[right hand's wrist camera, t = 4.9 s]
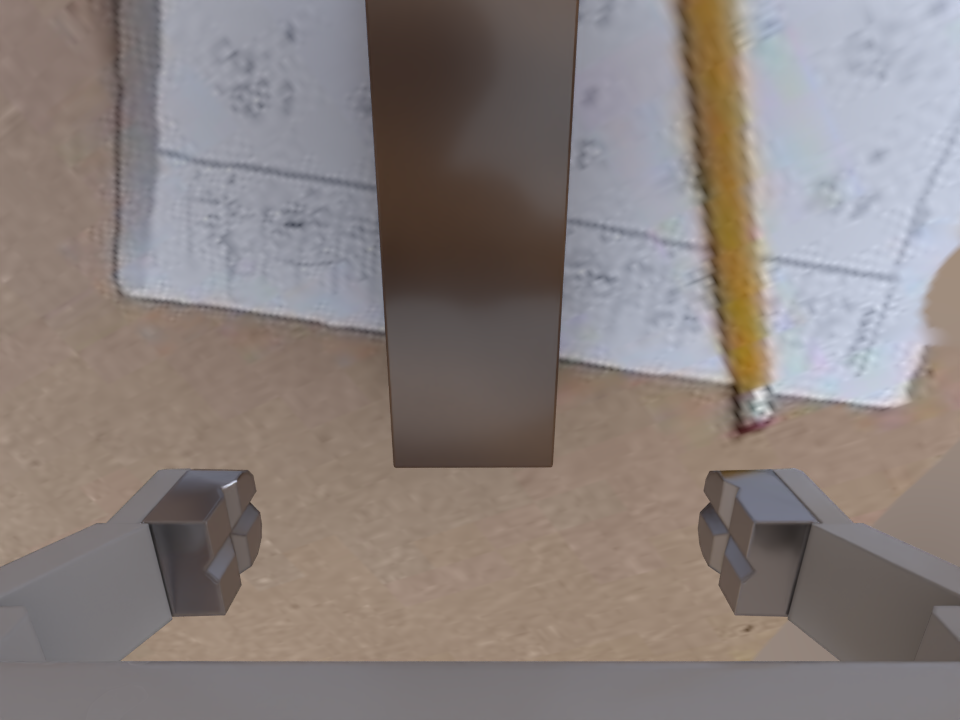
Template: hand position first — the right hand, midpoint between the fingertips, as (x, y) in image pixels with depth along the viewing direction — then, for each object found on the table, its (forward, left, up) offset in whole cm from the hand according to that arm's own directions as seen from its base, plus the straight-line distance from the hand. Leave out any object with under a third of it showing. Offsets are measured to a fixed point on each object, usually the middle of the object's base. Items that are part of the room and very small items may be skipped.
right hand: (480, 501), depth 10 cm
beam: (+21, +23, -14) cm, 34 cm away
